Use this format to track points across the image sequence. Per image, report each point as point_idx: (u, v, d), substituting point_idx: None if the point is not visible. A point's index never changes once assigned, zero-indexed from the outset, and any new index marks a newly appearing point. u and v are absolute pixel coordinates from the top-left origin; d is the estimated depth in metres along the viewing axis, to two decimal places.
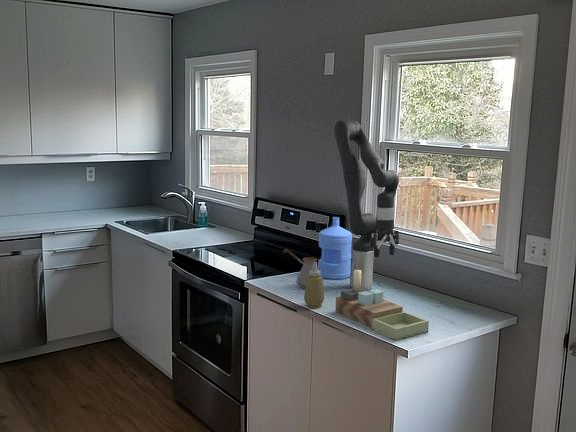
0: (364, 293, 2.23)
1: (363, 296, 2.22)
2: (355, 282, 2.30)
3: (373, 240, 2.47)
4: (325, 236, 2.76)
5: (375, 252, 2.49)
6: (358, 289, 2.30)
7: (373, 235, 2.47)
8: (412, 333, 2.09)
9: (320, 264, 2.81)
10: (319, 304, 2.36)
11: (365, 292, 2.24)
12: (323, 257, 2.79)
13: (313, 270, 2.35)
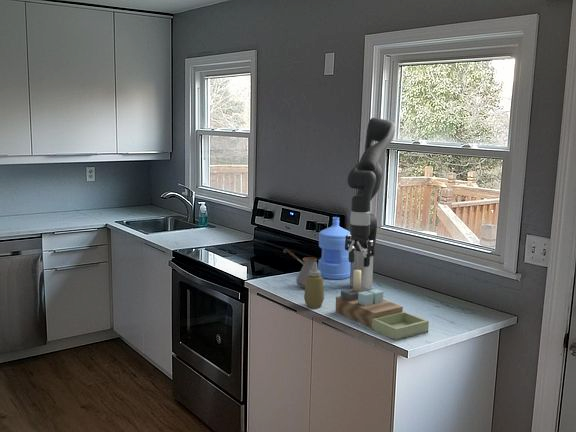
0: (364, 293, 2.23)
1: (363, 296, 2.22)
2: (355, 282, 2.30)
3: (373, 248, 2.23)
4: (325, 236, 2.76)
5: (368, 261, 2.25)
6: (358, 289, 2.30)
7: (372, 243, 2.23)
8: (412, 333, 2.09)
9: (320, 264, 2.81)
10: (319, 304, 2.36)
11: (365, 292, 2.24)
12: (323, 257, 2.79)
13: (313, 270, 2.35)
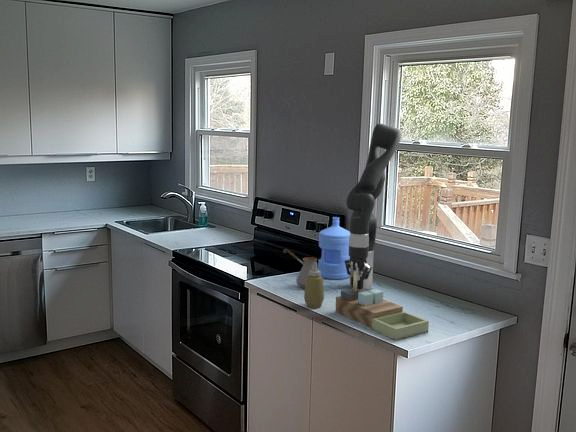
0: (364, 293, 2.23)
1: (363, 296, 2.22)
2: (355, 282, 2.30)
3: (368, 273, 2.26)
4: (325, 236, 2.76)
5: (362, 284, 2.29)
6: None
7: (369, 269, 2.25)
8: (412, 333, 2.09)
9: (320, 264, 2.81)
10: (319, 304, 2.36)
11: (365, 292, 2.24)
12: (323, 257, 2.79)
13: (313, 270, 2.35)
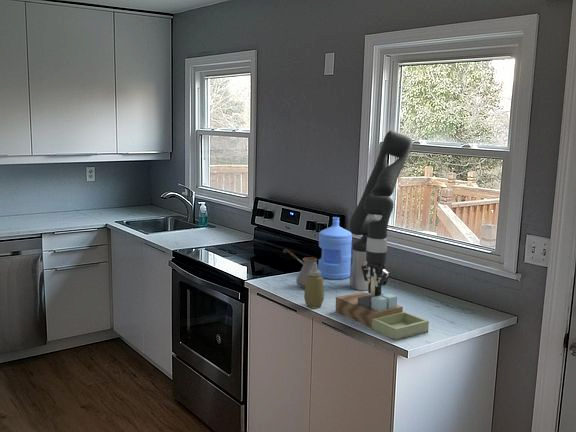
0: (377, 298, 2.17)
1: (377, 301, 2.16)
2: (373, 288, 2.22)
3: (386, 279, 2.18)
4: (325, 236, 2.76)
5: (380, 290, 2.21)
6: None
7: (388, 275, 2.17)
8: (412, 333, 2.09)
9: (320, 264, 2.81)
10: (319, 304, 2.36)
11: (378, 297, 2.19)
12: (323, 257, 2.79)
13: (313, 270, 2.35)
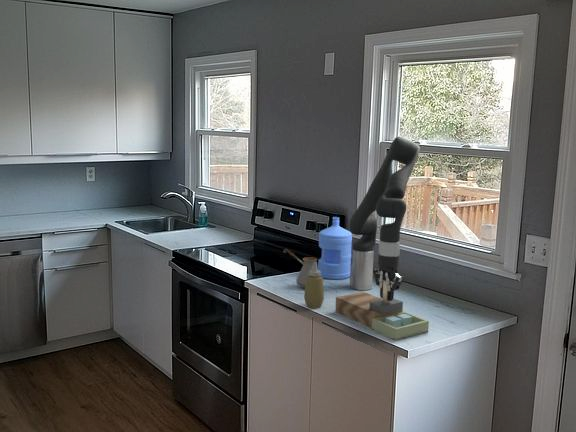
0: (394, 326, 2.11)
1: None
2: (385, 293, 2.16)
3: (399, 284, 2.13)
4: (325, 236, 2.76)
5: (392, 295, 2.16)
6: None
7: (401, 279, 2.12)
8: (412, 333, 2.09)
9: (320, 264, 2.81)
10: (319, 304, 2.36)
11: (397, 323, 2.12)
12: (323, 257, 2.79)
13: (313, 270, 2.35)
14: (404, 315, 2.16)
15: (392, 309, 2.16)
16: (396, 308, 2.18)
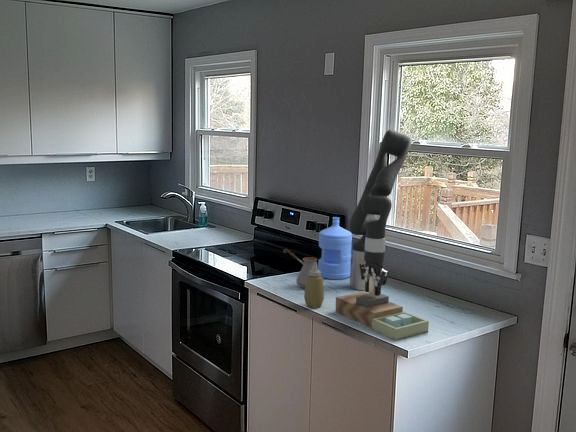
0: (394, 326, 2.11)
1: None
2: (371, 288, 2.23)
3: (386, 278, 2.18)
4: (325, 236, 2.76)
5: (379, 290, 2.21)
6: (374, 295, 2.23)
7: (387, 273, 2.18)
8: (412, 333, 2.09)
9: (320, 264, 2.81)
10: (319, 304, 2.36)
11: (397, 323, 2.12)
12: (323, 257, 2.79)
13: (313, 270, 2.35)
14: (404, 315, 2.16)
15: (378, 303, 2.23)
16: (382, 302, 2.24)
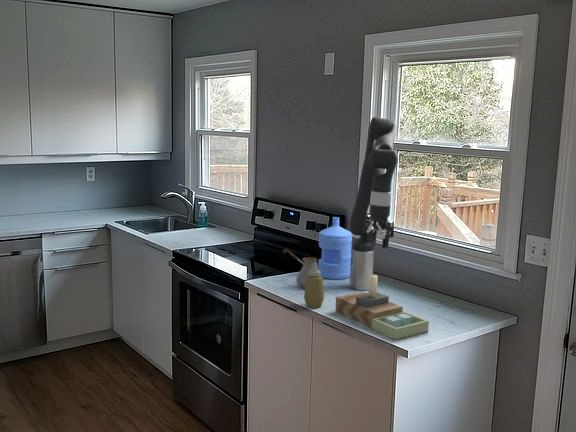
0: (394, 326, 2.11)
1: None
2: (371, 288, 2.23)
3: (392, 229, 2.19)
4: (325, 236, 2.76)
5: (387, 243, 2.21)
6: (374, 295, 2.23)
7: (392, 224, 2.19)
8: (412, 333, 2.09)
9: (320, 264, 2.81)
10: (319, 304, 2.36)
11: (397, 323, 2.12)
12: (323, 257, 2.79)
13: (313, 270, 2.35)
14: (404, 315, 2.16)
15: (378, 303, 2.23)
16: (382, 302, 2.24)
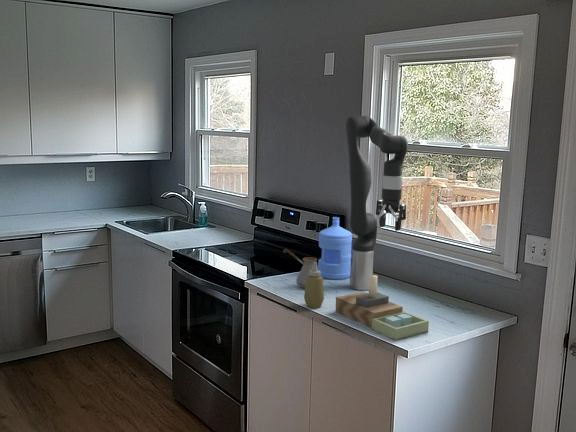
0: (394, 326, 2.11)
1: None
2: (371, 288, 2.23)
3: (404, 212, 2.27)
4: (325, 236, 2.76)
5: (400, 225, 2.29)
6: (374, 295, 2.23)
7: (404, 206, 2.27)
8: (412, 333, 2.09)
9: (320, 264, 2.81)
10: (319, 304, 2.36)
11: (397, 323, 2.12)
12: (323, 257, 2.79)
13: (313, 270, 2.35)
14: (404, 315, 2.16)
15: (378, 303, 2.23)
16: (382, 302, 2.24)
